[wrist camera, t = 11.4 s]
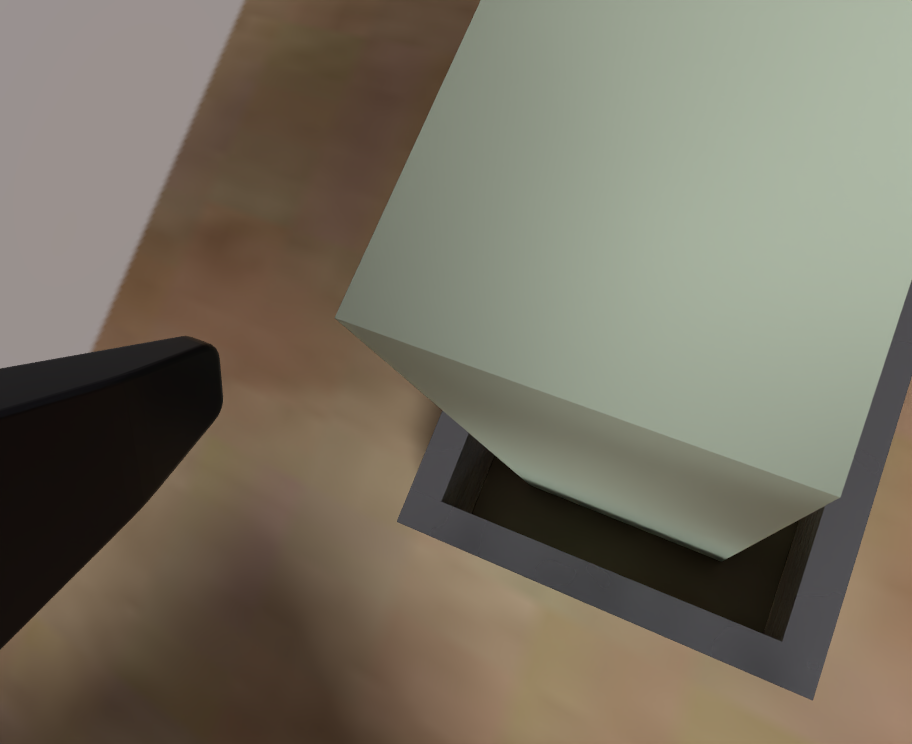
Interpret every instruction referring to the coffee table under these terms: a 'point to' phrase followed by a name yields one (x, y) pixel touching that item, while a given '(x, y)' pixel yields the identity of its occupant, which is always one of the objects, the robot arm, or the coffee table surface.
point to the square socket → (764, 655)
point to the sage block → (657, 251)
